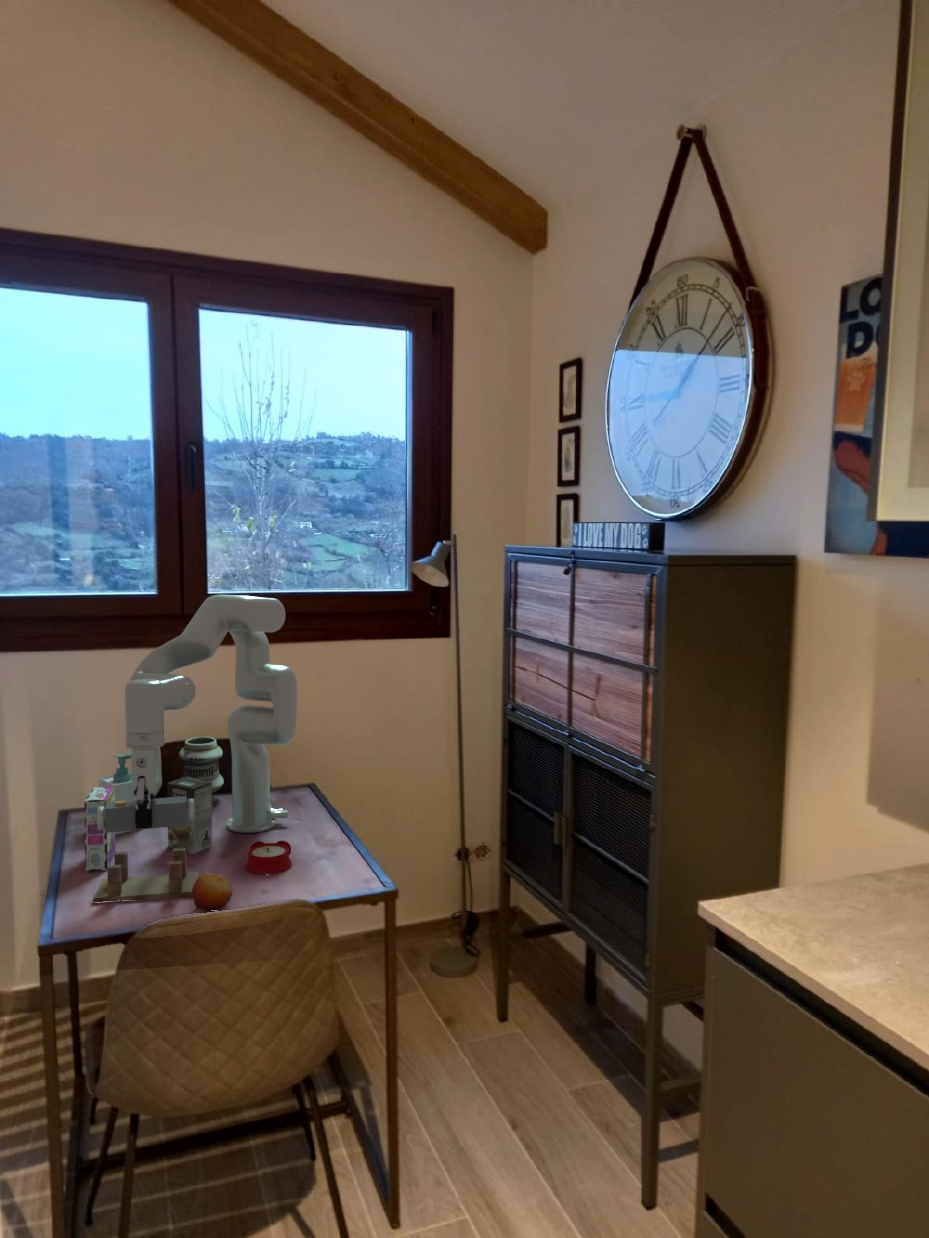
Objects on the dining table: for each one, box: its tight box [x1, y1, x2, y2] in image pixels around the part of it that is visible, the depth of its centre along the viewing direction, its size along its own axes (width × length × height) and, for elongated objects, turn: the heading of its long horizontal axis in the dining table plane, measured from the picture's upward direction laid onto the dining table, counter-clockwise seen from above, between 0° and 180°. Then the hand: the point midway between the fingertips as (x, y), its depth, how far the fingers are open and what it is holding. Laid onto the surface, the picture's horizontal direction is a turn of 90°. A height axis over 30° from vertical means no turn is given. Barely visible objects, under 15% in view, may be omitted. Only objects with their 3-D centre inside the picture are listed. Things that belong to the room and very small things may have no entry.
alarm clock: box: [244, 840, 293, 876], centre depth 198 cm, size 10×6×15 cm
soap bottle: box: [98, 752, 136, 836], centre depth 219 cm, size 9×9×19 cm
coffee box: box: [166, 776, 213, 855], centre depth 207 cm, size 9×6×16 cm
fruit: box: [192, 872, 233, 913], centre depth 174 cm, size 8×8×8 cm
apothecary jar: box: [178, 736, 224, 807], centre depth 240 cm, size 12×12×18 cm
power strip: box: [97, 796, 195, 833], centre depth 180 cm, size 19×5×6 cm, turn 110°
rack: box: [92, 848, 201, 903], centre depth 182 cm, size 20×10×7 cm, turn 102°
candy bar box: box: [83, 786, 116, 873], centre depth 196 cm, size 11×5×16 cm, turn 13°
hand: (146, 822), depth 180 cm, fingers closed on power strip, 5 cm apart
